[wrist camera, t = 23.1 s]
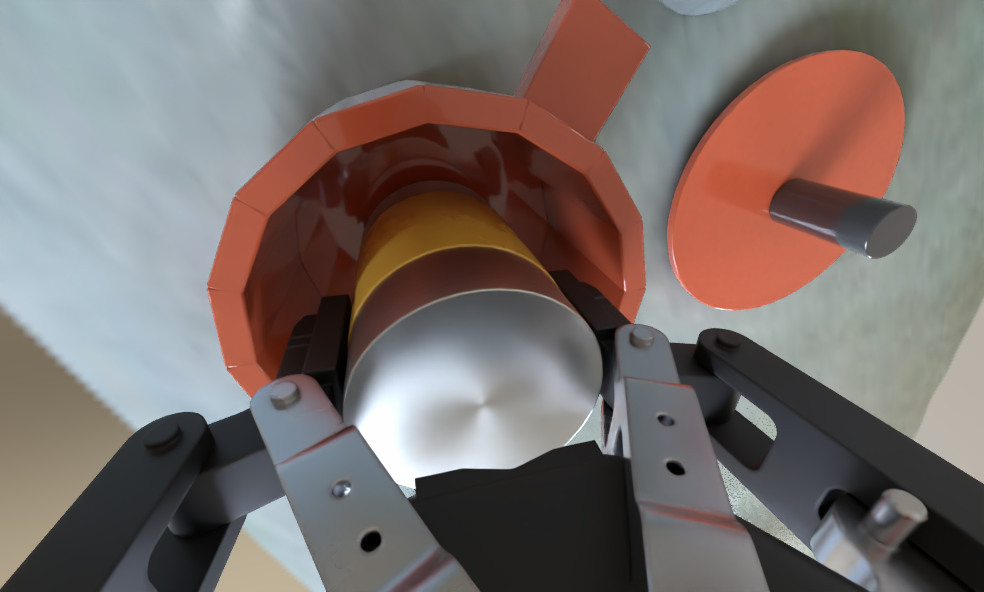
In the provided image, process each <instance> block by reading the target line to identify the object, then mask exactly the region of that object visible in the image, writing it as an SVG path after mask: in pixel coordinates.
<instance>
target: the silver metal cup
mask: <svg viewBox="0 0 984 592" xmlns="http://www.w3.org/2000/svg"><path fill="white" fill-rule="evenodd" d="M659 1H660V2H661V3H662V4H663V5H664V6H665V7H667V8H668V9H670V10H672V11H674V12H676V13H679V14H682V15H687V16H701V15H706V14H710V13H714V12H717V11H719V10H722V9H724V8H726V7H728V6H731V5H733V4H735V3H737V2H739V1H741V0H659Z"/></svg>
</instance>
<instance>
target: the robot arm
mask: <svg viewBox="0 0 984 592" xmlns="http://www.w3.org/2000/svg"><path fill="white" fill-rule="evenodd" d="M548 273H549V274H550V276H551V277H552V278H553V280H554V281H555V283H556V284H557V286H558V287H559V289H560V291H561V292H562V293H563V294H564V296H565V297H566V298H567V299H568V301H569V302H570V303H571V304H572V305H573V307H574V308H575V309H576V310H577V312H578V313H579V314H580V315H581V316H582V318H583V319H584V320H585V321H586V322H587V324H588V325H589V327H590V328H591V330H592V331H593V333H594V334H595V337H596V339H597V341H598V344H599V346H600V350H601V354H602V360H603V378H602V385H601V389H600V393H599V394H601V396H602V397H603V400H602V406H601V432H602V452H601V450H600V448H599V447H598V445H597V443H596V441H595V440H593V441H588V442H583V443H579V444H574V445H569V446H565V447H560V448H555V449H552V450H550V451H548V452H546V453H544V454H542V455H540V456H538V457H536V458H534V459H532V460H530V461H528V462H526V463H524V464H522V465H520V466H518V467H516V468H513V469H471V468H462V469H457V470H452V471H447V472H443V473H438V474H433V475H429V476H424V477H419V478H415V490H416V494H415V495H413V496H411V497H409V498H406V496H405V495H404V494H403V492H402V491H401V489H400V488H399V486H398V485H397V484H396V482H395V481H394V479H393V478H392V476H391V475H390V474H389V472H388V471H387V469H386V468H385V466H384V465H383V464H382V462H381V461H380V459H379V458H378V456H377V455H376V454H375V452H374V451H373V449H372V448H371V447H370V445H369V444H368V442H367V441H366V439H365V438H364V437H363V435H362V434H361V432H360V431H359V430H358V428H357V427H356V426H355V425H353V424H352V425H350V426H348V427H347V425H346V424H345V422H344V421H343V419H342V399H343V390H344V382H345V374H346V365H347V357H348V354H347V340H348V331H349V324H350V316H351V308H352V304H351V300H350V297H349V295H348V294H343V295H335V296H326V297H322V298H321V302H320V305H319V309H318V313H317V314H313V315H305V316H304V317H303V318H302V319H301V320H300V321H299V322H298V323H297V324H296V325H295V326H294V327H293V330H292V333H291V336H290V340H289V341H288V344H287V349H286V350H285V353H284V356H283V359H282V362H281V365H280V368H279V370H278V373H277V376H276V379H275V380H273V381H271V382H269V383H268V384H266V385H264V386H263V387H262V388H260V389H259V390H258V391H257V392H256V393H255V395H254V396H253V397H252V399H251V402H250V408H249V409H247V410H245V411H243V412H240V413H238V414H236V415H233V416H230V417H228V418H225V419H222V420H219V421H217V422H214V423H211V424H209V425H208V424H207V422H206V420H205V419H204V417H203V416H202V415H200V414H198V413H194V412H181V413H175V414H171V415H168V416H165V417H162V418H160V419H157V420H155V421H153V422H151V423H149V424H148V425H146V426H144V427H143V428H141V429H140V430H138V431H137V432H136V433H134V434H133V435H132V436H131V437H130V438H129V439H128V440H127V441H126V442H125V443H124V444H123V446H122V447H121V448H120V449H119V450H118V452H117V453H116V454H115V455H114V456H113V458H112V459H111V460H110V461H109V462H108V463H107V464H106V466H105V467H104V468H103V469H102V470H101V472H100V473H99V474H98V475H97V476H96V478H95V479H94V480H93V481H92V482H91V483H90V484H89V486H88V487H87V488H86V489H85V490H84V491H83V493H82V494H81V495H80V496H79V497H78V499H77V500H76V501H75V502H74V503H73V505H72V506H71V507H70V508H69V509H68V510H67V511H66V513H65V514H64V515H63V516H62V517H61V518H60V520H59V521H58V522H57V523H56V524H55V526H54V527H53V528H52V529H51V530H50V531H49V533H48V534H47V535H46V536H45V537H44V539H43V540H42V541H41V542H40V543H39V544H38V545H37V547H36V548H35V549H34V550H33V551H32V553H31V554H30V555H29V556H28V557H27V558H26V560H25V561H24V562H23V563H22V564H21V565H20V567H19V568H18V569H17V570H16V571H15V572H14V574H13V575H12V576H11V577H10V579H9V580H8V581H7V582H6V583H5V584H4V586H3V587H2V588H1V589H0V592H214V590H215V587H216V585H217V583H218V581H219V578H220V576H221V573H222V571H223V569H224V567H225V565H226V562H227V560H228V558H229V555H230V553H231V551H232V549H233V546H234V544H235V542H236V539H237V537H238V535H239V532H240V530H241V528H242V526H243V523H244V521H245V519H246V516H247V514H248V513H250V512H252V511H254V510H256V509H258V508H260V507H262V506H264V505H266V504H268V503H270V502H273V501H275V500H277V499H279V498H281V497H283V496H285V495H286V496H287V499H288V501H289V504H290V506H291V508H292V511H293V513H294V515H295V518H296V520H297V523H298V525H299V527H300V530H301V532H302V534H303V537H304V539H305V542H306V544H307V546H308V549H309V551H310V553H311V556H312V558H313V561H314V563H315V565H316V568H317V570H318V573H319V575H320V577H321V580H322V582H323V584H324V587H325V589H326V592H984V484H983V483H981V482H980V481H978V480H976V479H975V478H973V477H971V476H970V475H968V474H967V473H965V472H963V471H962V470H960V469H959V468H957V467H955V466H954V465H952V464H951V463H949V462H947V461H946V460H944V459H942V458H941V457H939V456H938V455H936V454H934V453H933V452H931V451H930V450H928V449H926V448H925V447H923V446H921V445H920V444H918V443H917V442H915V441H913V440H912V439H910V438H909V437H907V436H905V435H904V434H902V433H900V432H899V431H897V430H896V429H894V428H892V427H891V426H889V425H888V424H886V423H884V422H883V421H881V420H879V419H878V418H876V417H875V416H873V415H871V414H870V413H868V412H867V411H865V410H863V409H862V408H860V407H858V406H857V405H855V404H854V403H852V402H850V401H849V400H847V399H846V398H844V397H842V396H841V395H839V394H837V393H836V392H834V391H833V390H831V389H829V388H828V387H826V386H825V385H823V384H821V383H820V382H818V381H816V380H815V379H813V378H812V377H810V376H808V375H807V374H805V373H804V372H802V371H800V370H799V369H797V368H795V367H794V366H792V365H791V364H789V363H787V362H786V361H784V360H783V359H781V358H779V357H778V356H776V355H774V354H773V353H771V352H770V351H768V350H766V349H765V348H763V347H762V346H760V345H758V344H757V343H755V342H753V341H752V340H750V339H749V338H747V337H745V336H743V335H741V334H739V333H736V332H734V331H730V330H726V329H719V328H711V329H706V330H703V331H702V332H701V333H700V334H699V337H698V340H697V343H696V344H684V343H670V342H669V340H668V338H667V337H666V336H665V335H664V334H663V333H662V332H660V331H659V330H657V329H655V328H653V327H650V326H646V325H642V324H632V323H631V322H630V321H629V320H628V319H627V318H626V317H625V316H624V315H623V314H622V313H621V312H620V311H619V310H618V309H617V308H616V307H615V306H614V305H612V303H611V302H610V301H609V300H608V299H607V298H605V296H604V295H603V294H602V293H601V292H600V291H599V290H598V289H597V288H596V287H594V286H592V285H590V284H588V283H586V282H579V280H578V279H577V278H576V277H575V276H574V275H573V274H572V273H571V272H570V271H569V270H567V269H565V270H556V271H548ZM741 395H742V396H744V397H745V398H746V399H748V400H749V401H750V402H752V403H753V404H754V405H756V406H757V407H758V408H759V409H761V410H762V411H763V412H765V413H766V414H767V415H768V416H769V417H770V418H771V419H772V420H773V421H774V423H775V425H776V428H777V436H776V438H775V440H774V441H773V440H772V439H771V438H770V437H769V436H767V435H766V434H765V433H764V432H762V431H761V430H760V429H759V428H757V427H756V426H755V425H754V424H752V423H751V422H750V421H749V420H748V419H746V418H745V417H744V416H743V415H741V414H740V413H739V412H738V411H736V410H735V408H736V406H737V403H738V401H739V399H740V396H741ZM717 460H719V461H720V462H721V463H722V464H723V465H724V466H725V467H726V468H727V469H728V470H729V471H730V472H731V473H732V474H733V475H734V476H735V477H736V478H737V479H738V480H739V481H740V482H741V483H742V484H743V485H744V486H745V487H746V488H747V489H748V490H749V491H750V492H751V493H752V494H754V495H755V496H756V497H757V498H758V499H759V500H760V501H761V502H762V503H763V504H764V505H765V506H766V507H767V508H768V509H769V510H770V511H771V512H772V513H773V514H774V515H775V516H776V517H777V518H778V519H779V520H780V521H781V522H782V523H783V524H784V525H785V526H786V527H787V528H788V529H790V530H791V531H792V532H793V533H794V534H795V535H796V536H797V537H798V538H799V539H800V540H801V541H802V542H803V543H804V544H805V545H806V546H807V547H808V548H809V549H810V550H811V551H812V552H813V554H814V556H815V558H816V560H817V561H816V560H814V559H812V558H811V557H809V556H807V555H805V554H803V553H802V552H800V551H798V550H796V549H795V548H793V547H791V546H789V545H788V544H786V543H784V542H782V541H781V540H779V539H777V538H775V537H774V536H772V535H770V534H768V533H767V532H765V531H763V530H761V529H759V528H758V527H756V526H754V525H752V524H751V523H749V522H747V521H745V520H744V519H742V518H740V517H738V516H737V515H735V514H734V513H733V510H732V507H731V504H730V501H729V498H728V494H727V491H726V488H725V485H724V482H723V478H722V475H721V472H720V469H719V466H718V462H717Z"/></svg>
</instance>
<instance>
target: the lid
mask: <svg viewBox="0 0 984 592" xmlns="http://www.w3.org/2000/svg"><path fill="white" fill-rule="evenodd" d="M904 129H905V110H904V103H903V97H902V94H901V90H900V87H899V84H898V83H897V81H896V79H895V77H894V75H893V74H892V72H891V71H890V70H889V69H888V68H887V67H886V66H885V65H884V64H883V63H882V62H880V61H879V60H877V59H876V58H874V57H873V56H871V55H868V54H865V53H862V52H859V51H852V50H830V51H819V52H815V53H811V54H807V55H803V56H800V57H798V58H796V59H793V60H791V61H788V62H786V63H784V64H782V65H780V66H779V67H777V68H775V69H773V70H772V71H770V72H768V73H766V74H765V75H764V76H762V77H761V78H759V79H758V80H757V81H755V82H754V83H753V84H751V85H750V86H749V87H747V88H746V89H745V90H744V91H743V92H742V93H741V94H740V95H738V96H737V97H736V98H735V99H734V100H733V101H732V102H731V103H730V104H729V105H728V106H727V107H726V108H725V110H724V111H723V112H722V113H721V114H720V115H719V116H718V117H717V118H716V120H715V121H714V122H713V124H712V125H711V126H710V128H709V129H708V130H707V131H706V133H705V134H704V135H703V137H702V139H701V140H700V142H699V143H698V145H697V146H696V148H695V150H694V151H693V153H692V155H691V157H690V159H689V161H688V162H687V164H686V166H685V168H684V170H683V172H682V175H681V177H680V180H679V183H678V185H677V188H676V190H675V194H674V197H673V201H672V204H671V208H670V214H669V220H668V229H667V246H668V255H669V259H670V263H671V267H672V269H673V272H674V274H675V276H676V278H677V280H678V281H679V283H680V284H681V286H682V287H683V288H684V289H685V290H686V291H687V292H688V293H689V294H690V295H691V296H693V297H694V298H695V299H697V300H699V301H700V302H702V303H703V304H706V305H708V306H710V307H713V308H717V309H722V310H747V309H752V308H756V307H761V306H764V305H767V304H770V303H772V302H775V301H777V300H779V299H782V298H784V297H786V296H788V295H789V294H791V293H793V292H795V291H797V290H798V289H800V288H801V287H803V286H804V285H806V284H807V283H809V282H810V281H812V280H813V279H814V278H816V277H817V276H818V275H820V274H821V273H822V272H823V271H824V270H826V269H827V268H828V267H829V266H830V265H831V264H832V263H833V262H835V261H836V260H837V259H838V257H839V256H840V255H841V254H842V253H843V252H844V251H845V250H846V249H847V250H850V251H853V252H855V253H858V254H861V255H863V256H866V257H869V258H872V259H878V258H882V257H885V256H887V255H889V254H890V253H892V252H893V251H895V250H896V249H897V248H898V247H900V246H901V245H902V244H903V242H904V241H905V240H906V239H907V238H908V236H909V235H910V233H911V232H912V230H913V228H914V226H915V223H916V218H917V214H916V210H915V209H914V208H913V207H912V206H910V205H906V204H902V203H898V202H894V201H890V200H886V199H883V196H884V194H885V193H886V190H887V188H888V186H889V184H890V182H891V179H892V177H893V174H894V171H895V169H896V166H897V163H898V160H899V156H900V152H901V148H902V144H903V136H904Z"/></svg>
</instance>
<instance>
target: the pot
mask: <svg viewBox="0 0 984 592" xmlns="http://www.w3.org/2000/svg"><path fill="white" fill-rule="evenodd" d="M649 49H650V45H649V44H648V43H647V42H646V41H645V40H644V39H643V38H641V37H640V36H639V35H638V34H637V33H636V32H635V31H634V30H633V29H631V28H630V27H629V26H628V25H627V24H626V23H625V22H624V21H623V20H621V19H620V18H619V17H618V16H617V15H616V14H615V13H614V12H613V11H611V10H610V9H609V8H608V7H607V6H606V5H605V4H604V3H602V2H601V1H600V0H561V2H560V4H559V6H558V8H557V10H556V12H555V14H554V16H553V18H552V20H551V21H550V23H549V25H548V27H547V29H546V31H545V33H544V35H543V37H542V39H541V41H540V43H539V45H538V47H537V49H536V51H535V53H534V55H533V57H532V59H531V61H530V63H529V65H528V66H527V68H526V70H525V72H524V74H523V76H522V78H521V80H520V82H519V84H518V86H517V88H516V90H515V92H514V94H513V95H507V94H501V93H496V92H490V91H484V90H478V89H473V88H466V87H459V86H452V85H445V84H438V83H430V82H423V81H416V80H409V79H408V80H401V81H398V82H395V83H392V84H389V85H386V86H383V87H379V88H375V89H372V90H370V91H367V92H364V93H360V94H357V95H354V96H351V97H348V98H345V99H342V100H340V101H338V102H337V103H336V104H334V105H333V106H331V107H330V108H328V109H327V110H325V111H324V112H322V113H321V114H319V115H318V116H316V117H315V118H313V119H312V120H310V121H309V122H308V123H307V124H306V125H305V126H304V127H303V128H302V129H301V130H300V131H299V132H298V133H297V134H296V135H295V136H294V137H293V138H292V139H291V140H290V141H289V142H288V143H287V144H286V145H284V146H283V147H282V148H281V149H280V150H279V151H278V152H277V153H276V154H275V155H274V156H273V157H272V158H271V159H270V160H269V161H268V162H267V163H266V164H265V165H264V166H263V167H262V168H261V169H260V170H259V171H258V172H257V173H256V174H255V175H254V176H253V177H252V178H251V179H250V180H249V181H248V182H246V183H245V184H244V185H243V186H242V187H241V188H240V189H239V190H238V191H237V192H236V194H235V197H234V198H233V199H232V202H231V205H230V209H229V212H228V215H227V219H226V222H225V226H224V229H223V232H222V236H221V239H220V242H219V246H218V249H217V252H216V256H215V259H214V262H213V266H212V269H211V272H210V276H209V279H208V282H207V287H208V288H207V292H208V296H209V300H210V304H211V308H212V313H213V317H214V321H215V325H216V329H217V333H218V337H219V342H220V346H221V350H222V354H223V358H224V362H225V366H226V367H227V371H228V372H229V373H230V374H231V375H232V376H233V378H234V379H235V380H236V381H237V382H238V383H239V384H240V386H241V387H242V388H243V389H244V390H245V391H246V393H247V394H248V395H249V396H250V397H251V398H252V397H253V396H254V395H255V393H256V392H257V391H258V390H259V389H260V388H262V387H263V386H264V385H266V384H268V383H269V382H271V381H273V380H275V379H276V376H277V373H278V370H279V368H280V365H281V362H282V359H283V356H284V353H285V350H286V349H287V344H288V341H289V340H290V336H291V333H292V330H293V327H294V326H295V325H296V324H297V323H298V322H299V321H300V320H301V319H302V318H303V317H304V316H305V315H313V314H317V313H318V309H319V305H320V302H321V298H322V297H326V296H335V295H343V294H348V295H349V297H350V300H351V304H352V300H353V292H354V284H355V277H356V269H357V261H358V255H359V250H360V247H361V241H362V236H363V231H364V229H365V226H366V223H367V221H368V219H369V217H370V216H371V214H372V213H373V211H374V210H375V209H376V207H377V206H378V205H379V204H380V203H381V202H382V201H383V200H384V199H385V198H387V197H388V196H389V195H390V194H392V193H393V192H395V191H397V190H399V189H400V188H403V187H405V186H408V185H410V184H414V183H417V182H422V181H447V182H453V183H456V184H460V185H462V186H465V187H467V188H469V189H471V190H473V191H474V192H476V193H477V194H479V195H480V196H481V197H482V198H484V199H485V200H486V201H487V202H488V203H489V204H490V206H491V207H492V208H493V209H494V210H495V211H496V212H497V213H498V214H499V215H500V216H501V217H502V218H503V219H504V220H505V222H506V223H507V224H508V225H509V226H510V228H511V229H512V230H513V231H514V232H515V234H516V235H517V236H518V237H519V238H520V240H521V241H522V242H523V243H524V244H525V246H526V247H527V248H528V249H529V250H530V252H531V253H532V254H533V255H534V256H535V258H536V259H537V260H538V261H539V262H540V264H541V265H542V266H543V267H544V268H545V270H546V271H547V272H548V271H556V270H565V269H567V270H569V271H570V272H571V273H572V274H573V275H574V276H575V277H576V278H577V279H578V280H579V282H586V283H588V284H590V285H592V286H594V287H596V288H597V289H598V290H599V291H600V292H601V293H602V294H603V295H604V296H605V298H607V299H608V300H609V301H610V302H611V303H612V305H614V306H615V307H616V308H617V309H618V310H619V311H620V312H621V313H622V314H623V315H624V316H625V317H626V318H627V319H628V320H629V321H630V322H631V323H632V324H634V322H635V319H636V316H637V313H638V310H639V307H640V304H641V301H642V298H643V296H644V293H645V290H646V288H645V286H646V278H645V260H644V242H643V224H642V220H641V219H642V217H641V215H640V213H639V211H638V209H637V207H636V205H635V204H634V202H633V200H632V198H631V196H630V195H629V193H628V191H627V189H626V187H625V185H624V184H623V182H622V180H621V178H620V176H619V174H618V173H617V171H616V169H615V167H614V165H613V164H612V162H611V160H610V158H609V156H608V154H607V153H606V152H605V151H604V150H603V148H602V147H600V146H599V145H597V144H596V143H594V140H595V138H596V137H597V135H598V133H599V132H600V130H601V128H602V127H603V125H604V123H605V122H606V120H607V118H608V117H609V115H610V113H611V112H612V110H613V108H614V107H615V105H616V104H617V102H618V100H619V99H620V97H621V95H622V94H623V92H624V90H625V89H626V87H627V85H628V84H629V82H630V80H631V79H632V77H633V75H634V74H635V72H636V70H637V69H638V67H639V65H640V64H641V62H642V60H643V59H644V57H645V55H646V54H647V52H648V50H649Z"/></svg>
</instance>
